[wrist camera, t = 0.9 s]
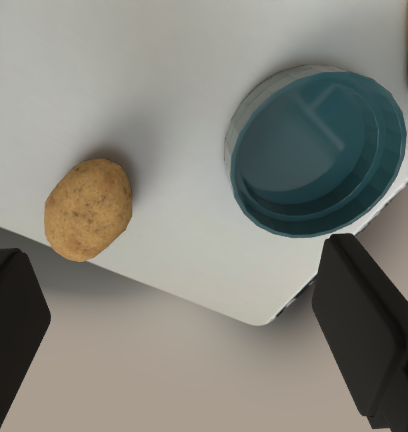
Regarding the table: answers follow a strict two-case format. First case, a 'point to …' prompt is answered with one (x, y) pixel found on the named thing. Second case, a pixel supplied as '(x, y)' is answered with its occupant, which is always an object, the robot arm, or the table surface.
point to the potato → (88, 209)
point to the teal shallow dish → (313, 150)
